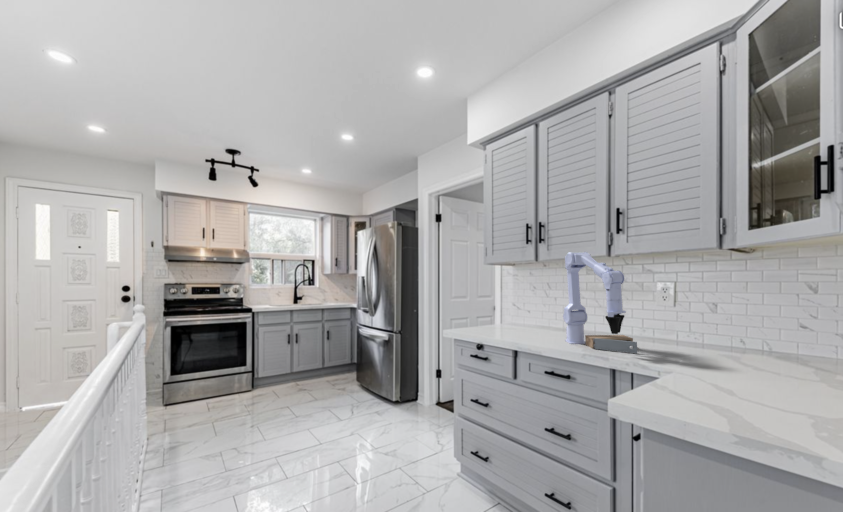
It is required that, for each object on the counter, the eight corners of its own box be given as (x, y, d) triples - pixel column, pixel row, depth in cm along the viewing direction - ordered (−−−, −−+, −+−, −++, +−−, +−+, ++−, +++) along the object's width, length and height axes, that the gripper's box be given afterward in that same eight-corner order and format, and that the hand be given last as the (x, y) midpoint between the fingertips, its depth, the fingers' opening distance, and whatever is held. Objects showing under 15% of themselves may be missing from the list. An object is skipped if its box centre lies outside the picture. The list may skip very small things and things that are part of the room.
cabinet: (585, 345, 170) (585, 335, 170) (623, 344, 168) (623, 335, 168) (592, 348, 161) (592, 338, 161) (633, 348, 159) (632, 338, 160)
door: (594, 348, 161) (593, 338, 161) (637, 352, 150) (636, 341, 150) (592, 349, 159) (592, 338, 159) (636, 353, 148) (635, 342, 149)
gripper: (620, 301, 143) (622, 336, 142) (628, 299, 154) (630, 331, 153) (601, 300, 148) (603, 334, 147) (610, 298, 159) (612, 330, 158)
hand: (615, 333), depth 150 cm, fingers open, 3 cm apart
